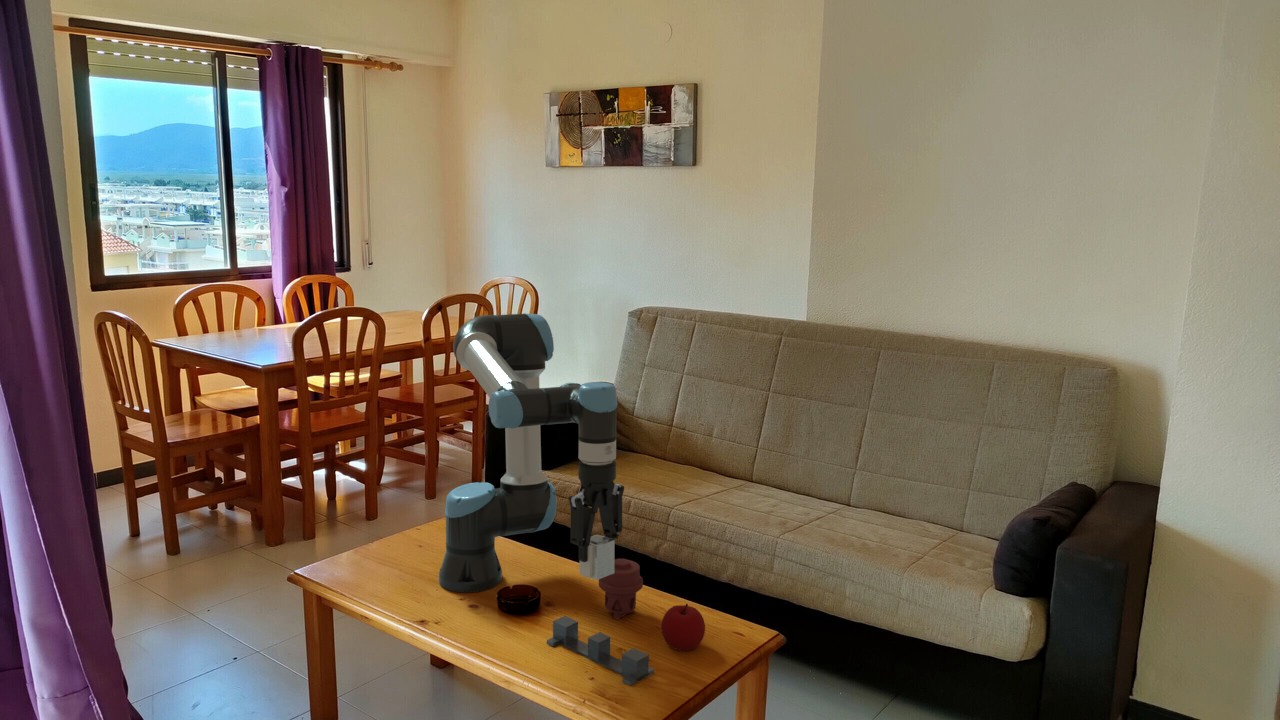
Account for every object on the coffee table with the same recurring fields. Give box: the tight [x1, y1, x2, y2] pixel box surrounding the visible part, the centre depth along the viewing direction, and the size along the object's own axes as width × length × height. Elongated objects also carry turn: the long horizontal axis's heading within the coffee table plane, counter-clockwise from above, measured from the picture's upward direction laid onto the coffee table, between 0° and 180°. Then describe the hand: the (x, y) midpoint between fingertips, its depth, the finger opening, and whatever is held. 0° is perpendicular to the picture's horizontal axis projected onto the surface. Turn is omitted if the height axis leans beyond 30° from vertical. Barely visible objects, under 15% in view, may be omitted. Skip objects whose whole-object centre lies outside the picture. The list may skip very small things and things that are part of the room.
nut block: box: [589, 534, 615, 581], centre depth 183 cm, size 5×5×7 cm
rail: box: [546, 615, 655, 687], centre depth 185 cm, size 24×7×4 cm, turn 48°
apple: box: [660, 603, 706, 652], centre depth 190 cm, size 9×9×10 cm
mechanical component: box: [598, 558, 644, 620], centre depth 205 cm, size 12×10×10 cm
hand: (596, 571), depth 184 cm, fingers closed on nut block, 5 cm apart
